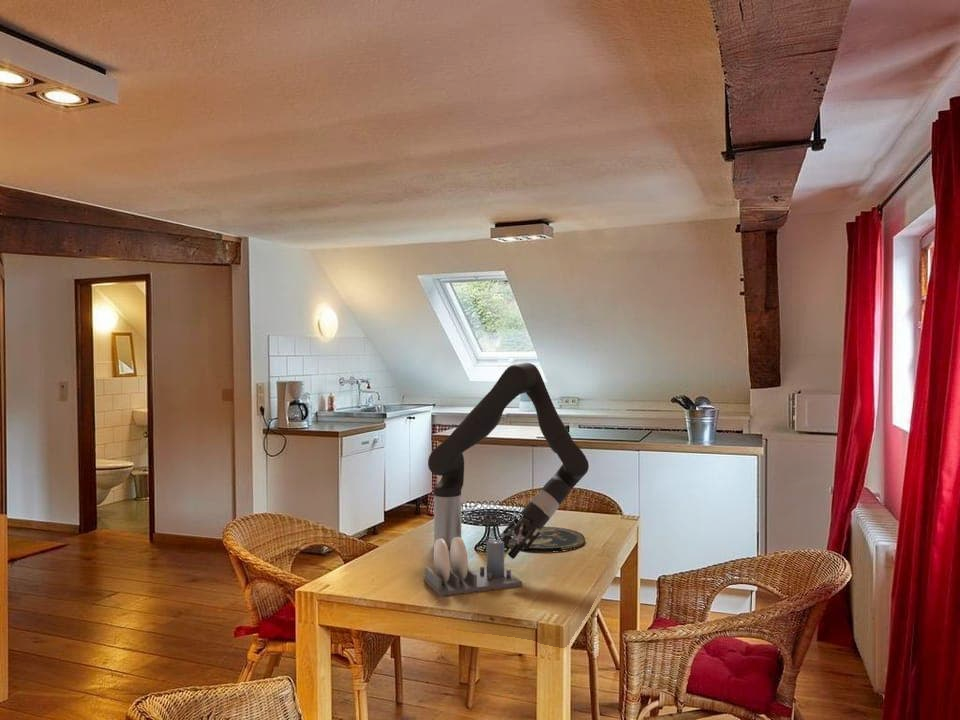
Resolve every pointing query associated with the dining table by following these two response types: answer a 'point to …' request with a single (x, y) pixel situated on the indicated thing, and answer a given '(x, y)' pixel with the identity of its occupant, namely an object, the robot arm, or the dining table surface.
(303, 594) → the dining table surface
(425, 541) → the dining table surface
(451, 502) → the robot arm
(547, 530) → the decorative plate
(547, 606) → the dining table surface
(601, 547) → the dining table surface
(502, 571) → the grey dome-topped cylinder
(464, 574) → the dish rack
